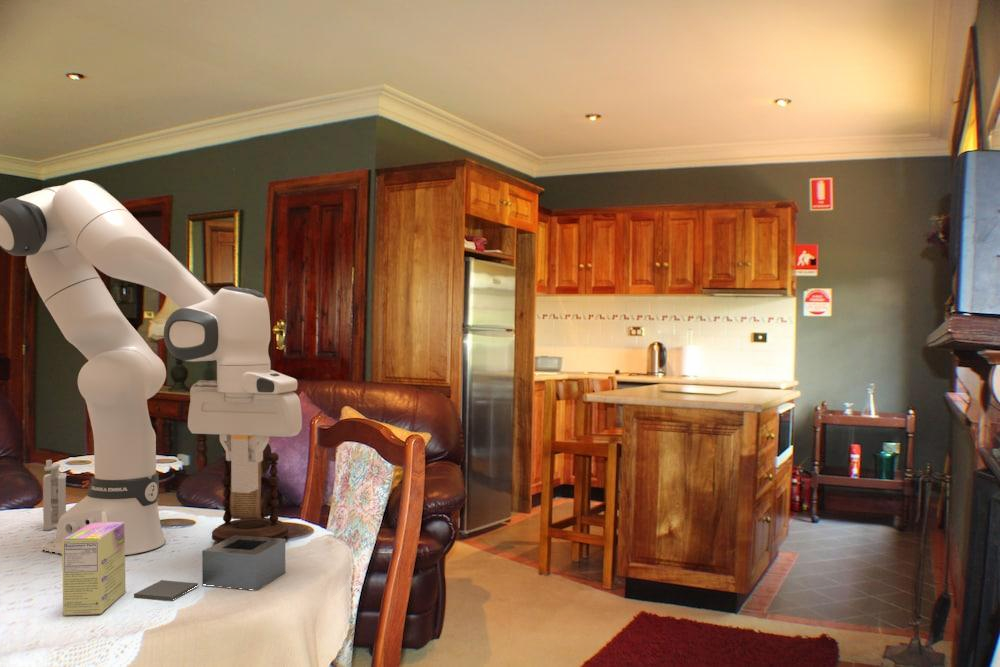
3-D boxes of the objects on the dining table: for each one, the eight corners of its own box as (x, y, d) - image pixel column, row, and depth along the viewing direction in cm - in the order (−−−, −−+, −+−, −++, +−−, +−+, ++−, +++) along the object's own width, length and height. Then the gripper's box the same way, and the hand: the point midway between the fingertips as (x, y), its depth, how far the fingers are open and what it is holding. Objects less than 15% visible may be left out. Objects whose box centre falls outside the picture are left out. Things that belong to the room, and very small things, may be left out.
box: (90, 593, 133) (89, 521, 132) (126, 592, 133) (125, 521, 133) (61, 616, 122) (60, 539, 122) (100, 615, 123) (99, 538, 122)
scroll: (200, 552, 156) (199, 448, 156) (228, 531, 171) (227, 437, 171) (275, 552, 156) (275, 449, 156) (297, 532, 171) (296, 438, 170)
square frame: (202, 586, 136) (202, 550, 136) (234, 568, 146) (234, 535, 146) (256, 590, 134) (256, 554, 134) (285, 572, 144) (285, 538, 144)
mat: (134, 597, 131) (134, 593, 131) (161, 583, 137) (161, 580, 137) (172, 600, 129) (172, 597, 129) (198, 586, 136) (198, 583, 136)
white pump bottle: (68, 519, 181) (67, 453, 181) (65, 529, 172) (65, 459, 172) (46, 521, 179) (46, 454, 179) (43, 532, 171) (42, 461, 170)
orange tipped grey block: (231, 492, 139) (231, 434, 138) (241, 488, 142) (241, 431, 141) (248, 493, 138) (247, 434, 138) (258, 489, 141) (257, 431, 141)
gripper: (179, 381, 139) (180, 461, 139) (288, 383, 134) (288, 466, 134) (201, 378, 145) (201, 455, 145) (306, 380, 140) (306, 460, 140)
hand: (244, 460), depth 140 cm, fingers closed on orange tipped grey block, 3 cm apart
